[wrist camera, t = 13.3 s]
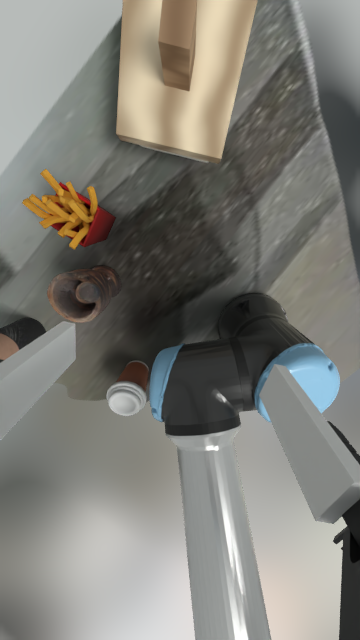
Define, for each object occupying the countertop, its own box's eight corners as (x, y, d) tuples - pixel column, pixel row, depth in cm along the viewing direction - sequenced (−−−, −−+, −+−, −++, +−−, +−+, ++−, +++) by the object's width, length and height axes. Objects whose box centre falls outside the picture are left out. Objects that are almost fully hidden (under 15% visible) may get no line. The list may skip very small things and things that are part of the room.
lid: (253, 11, 23) (284, -94, 16) (218, 163, 29) (229, 138, 22) (130, -22, 22) (102, -149, 15) (120, 140, 28) (97, 106, 21)
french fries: (108, 246, 40) (66, 251, 26) (71, 222, 38) (5, 214, 25) (127, 205, 37) (90, 186, 23) (87, 177, 35) (23, 139, 22)
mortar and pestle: (109, 242, 40) (41, 247, 21) (141, 272, 42) (104, 299, 24) (79, 282, 43) (0, 314, 25) (110, 307, 45) (57, 354, 27)
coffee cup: (160, 372, 52) (153, 407, 42) (137, 388, 55) (124, 425, 44) (137, 350, 50) (122, 381, 39) (114, 367, 53) (94, 402, 42)
